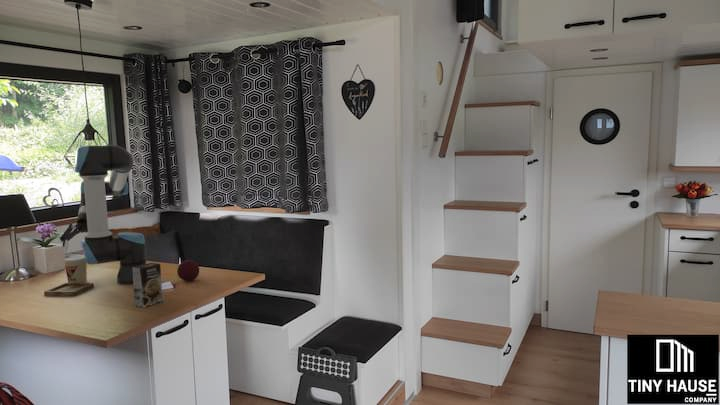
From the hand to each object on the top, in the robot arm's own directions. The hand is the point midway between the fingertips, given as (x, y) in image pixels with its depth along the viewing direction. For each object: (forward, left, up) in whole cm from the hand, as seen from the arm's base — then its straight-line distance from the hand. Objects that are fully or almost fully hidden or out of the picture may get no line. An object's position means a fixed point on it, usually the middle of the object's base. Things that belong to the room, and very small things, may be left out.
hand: (80, 251), depth 262 cm
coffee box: (-55, +38, -14) cm, 68 cm away
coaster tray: (-9, +23, -13) cm, 28 cm away
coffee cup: (-3, +9, -14) cm, 16 cm away
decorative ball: (-56, +3, -14) cm, 58 cm away
